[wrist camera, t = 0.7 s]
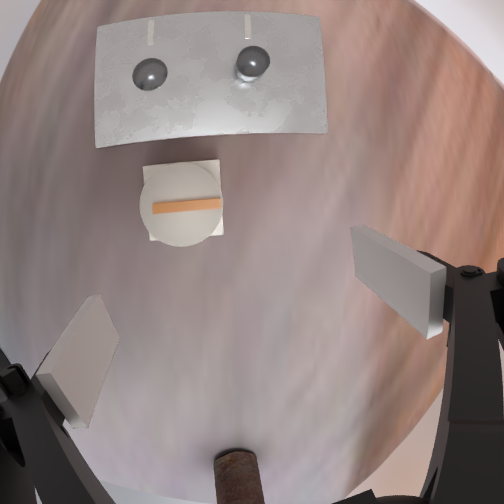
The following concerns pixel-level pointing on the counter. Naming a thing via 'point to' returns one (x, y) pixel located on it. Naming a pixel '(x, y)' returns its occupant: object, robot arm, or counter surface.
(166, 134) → the panel
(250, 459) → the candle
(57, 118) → the counter surface
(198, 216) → the knob
